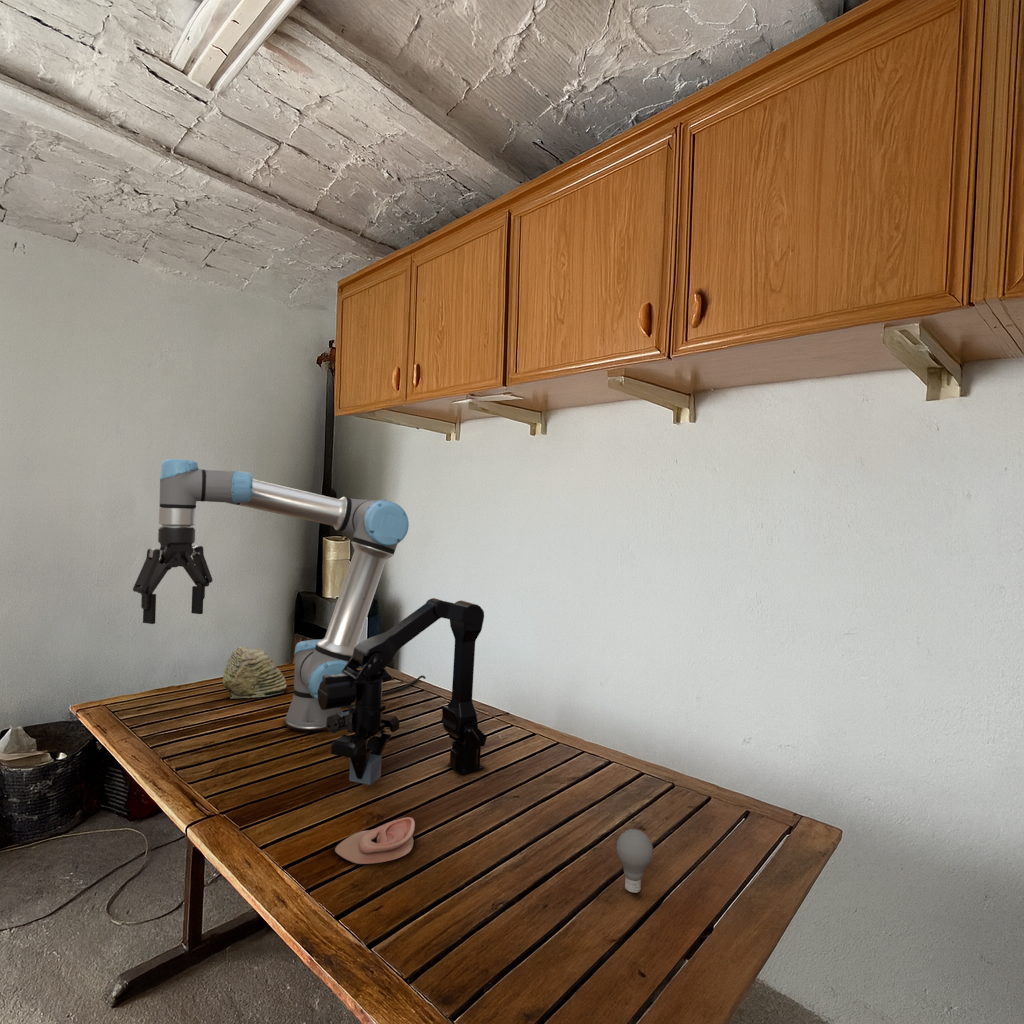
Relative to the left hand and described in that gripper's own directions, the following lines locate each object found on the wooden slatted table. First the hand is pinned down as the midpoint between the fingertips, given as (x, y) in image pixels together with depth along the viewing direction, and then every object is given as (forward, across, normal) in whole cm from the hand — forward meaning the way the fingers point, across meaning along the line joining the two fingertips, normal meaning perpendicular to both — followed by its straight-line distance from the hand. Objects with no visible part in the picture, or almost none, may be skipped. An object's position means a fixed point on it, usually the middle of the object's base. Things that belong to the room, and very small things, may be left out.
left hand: (174, 618), depth 146 cm
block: (+30, -4, +49) cm, 58 cm away
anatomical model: (+34, +14, +62) cm, 72 cm away
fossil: (+34, -48, -17) cm, 61 cm away
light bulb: (+34, +9, +108) cm, 113 cm away
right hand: (+29, -4, +49) cm, 57 cm away
